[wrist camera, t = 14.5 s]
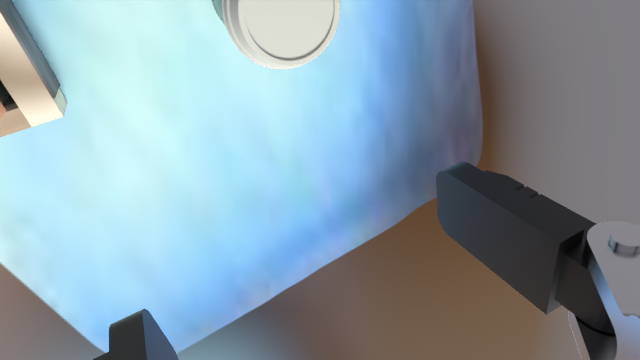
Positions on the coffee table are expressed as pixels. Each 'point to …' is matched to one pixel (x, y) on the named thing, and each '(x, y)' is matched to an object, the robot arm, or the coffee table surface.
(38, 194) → the coffee table surface
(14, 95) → the rail
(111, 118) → the coffee table surface
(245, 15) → the coffee cup
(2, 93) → the pinkish brown rectangular block
